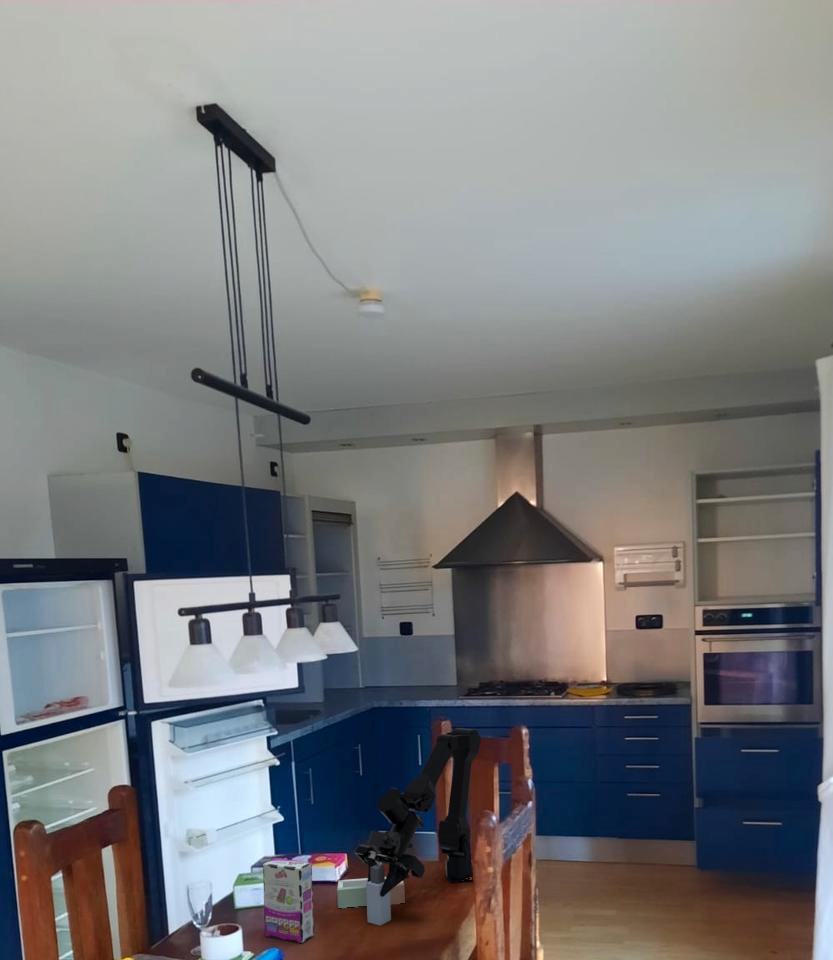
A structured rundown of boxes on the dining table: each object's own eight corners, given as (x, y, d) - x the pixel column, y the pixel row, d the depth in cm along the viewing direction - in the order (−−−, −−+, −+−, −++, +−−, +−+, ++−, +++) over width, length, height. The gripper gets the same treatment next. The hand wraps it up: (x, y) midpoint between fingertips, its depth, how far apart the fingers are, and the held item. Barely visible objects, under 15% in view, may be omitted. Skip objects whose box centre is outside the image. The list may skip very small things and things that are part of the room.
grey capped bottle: (378, 916, 203) (376, 862, 205) (391, 919, 201) (388, 865, 202) (367, 922, 200) (365, 867, 202) (380, 925, 198) (377, 870, 199)
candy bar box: (315, 935, 194) (313, 862, 196) (302, 944, 190) (300, 869, 192) (276, 928, 199) (274, 856, 201) (263, 936, 195) (261, 863, 197)
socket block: (338, 894, 219) (338, 876, 219) (402, 889, 220) (402, 871, 221) (338, 908, 209) (337, 890, 210) (404, 903, 210) (404, 885, 211)
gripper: (358, 811, 212) (329, 869, 202) (415, 821, 201) (387, 884, 191) (380, 835, 217) (352, 893, 207) (436, 846, 206) (410, 908, 196)
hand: (374, 894), depth 200 cm, fingers closed on grey capped bottle, 4 cm apart
